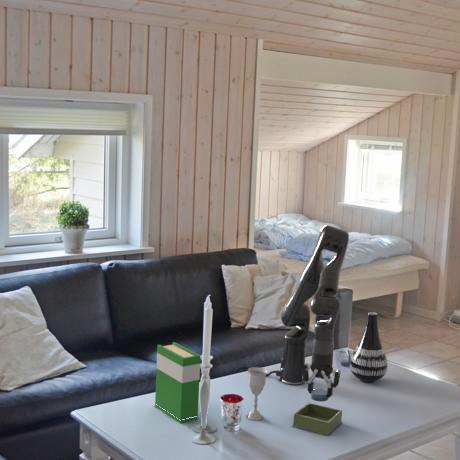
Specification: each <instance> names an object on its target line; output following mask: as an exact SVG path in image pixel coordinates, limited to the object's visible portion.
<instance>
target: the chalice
mask: <svg viewBox="0 0 460 460" xmlns="http://www.w3.org/2000/svg"><path fill="white" fill-rule="evenodd" d="M247 372H248V381H247V383H248V387H249V389H250V391H251V394H252V395H254V397H253V409H252V410H251V411H250V412H249V414H248V416H247V418H248V419H249V420H253V421H259V420H262V418H263V417H262V414H261V412H260V410H258V406H259V404H258V401H259V398H258V396H259V395H261V393H262V392H263V390H264V388H265V385H266V380H267V379H266V378H267V376H266V374H268V369H266V368H264V367H259V366H258V367H257V366H255V367H253V366H252V367H250V368H249V369H247Z"/></svg>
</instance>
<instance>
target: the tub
mask: <svg viewBox="0 0 460 460" xmlns="http://www.w3.org/2000/svg"><path fill="white" fill-rule="evenodd" d="M342 419H343V410H342V409H338V408H333V407H329V406H325V405H320V404H317V403H312V402H307V403H306V404H305V405H303V406H302V407H301V408H300V409H298V410H297V411H296V412H295V413H293V424H292V425H293V427H294V428H297V429H301V430H305V431H309V432H313V433H317V434H320V435H324V436H329V435H330V434H331V433H332V432H334V431H335V429H336V428H337V427H339V426H340V425H341V424H342Z"/></svg>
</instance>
